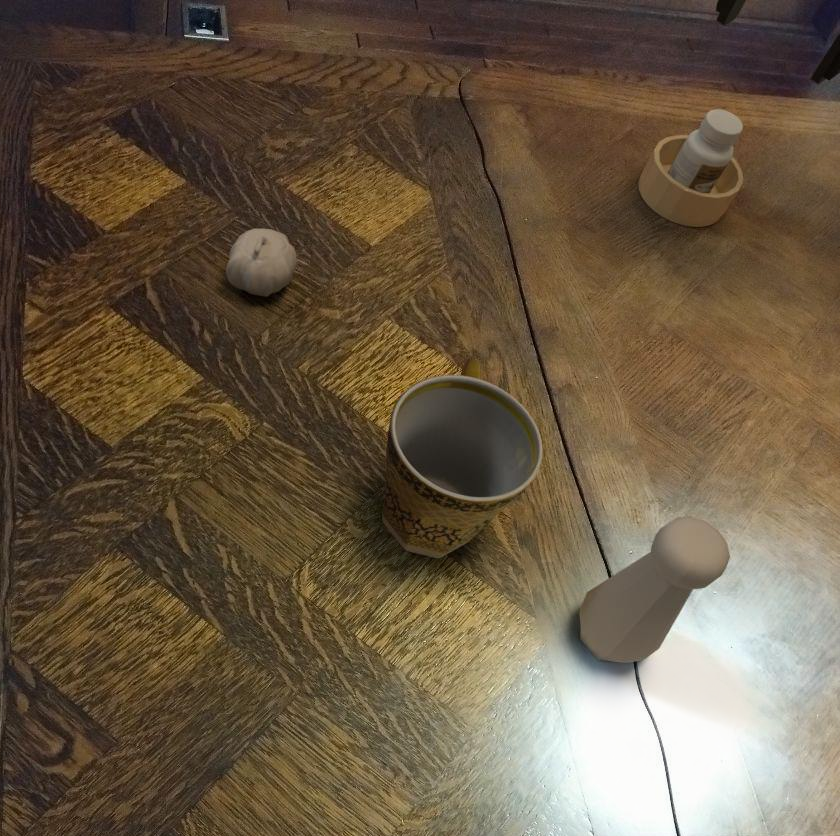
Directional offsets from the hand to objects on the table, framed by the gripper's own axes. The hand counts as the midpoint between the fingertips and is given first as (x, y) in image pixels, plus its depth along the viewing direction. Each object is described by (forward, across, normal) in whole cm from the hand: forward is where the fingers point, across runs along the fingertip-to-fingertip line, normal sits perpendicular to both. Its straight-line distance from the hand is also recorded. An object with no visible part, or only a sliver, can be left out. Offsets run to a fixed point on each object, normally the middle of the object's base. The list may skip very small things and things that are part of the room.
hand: (771, 49), depth 75 cm
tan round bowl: (+19, +2, -7) cm, 20 cm away
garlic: (+19, +18, +34) cm, 43 cm away
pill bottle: (+19, +2, -7) cm, 20 cm away
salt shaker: (+19, -21, +37) cm, 47 cm away
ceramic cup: (+19, -5, +39) cm, 44 cm away
